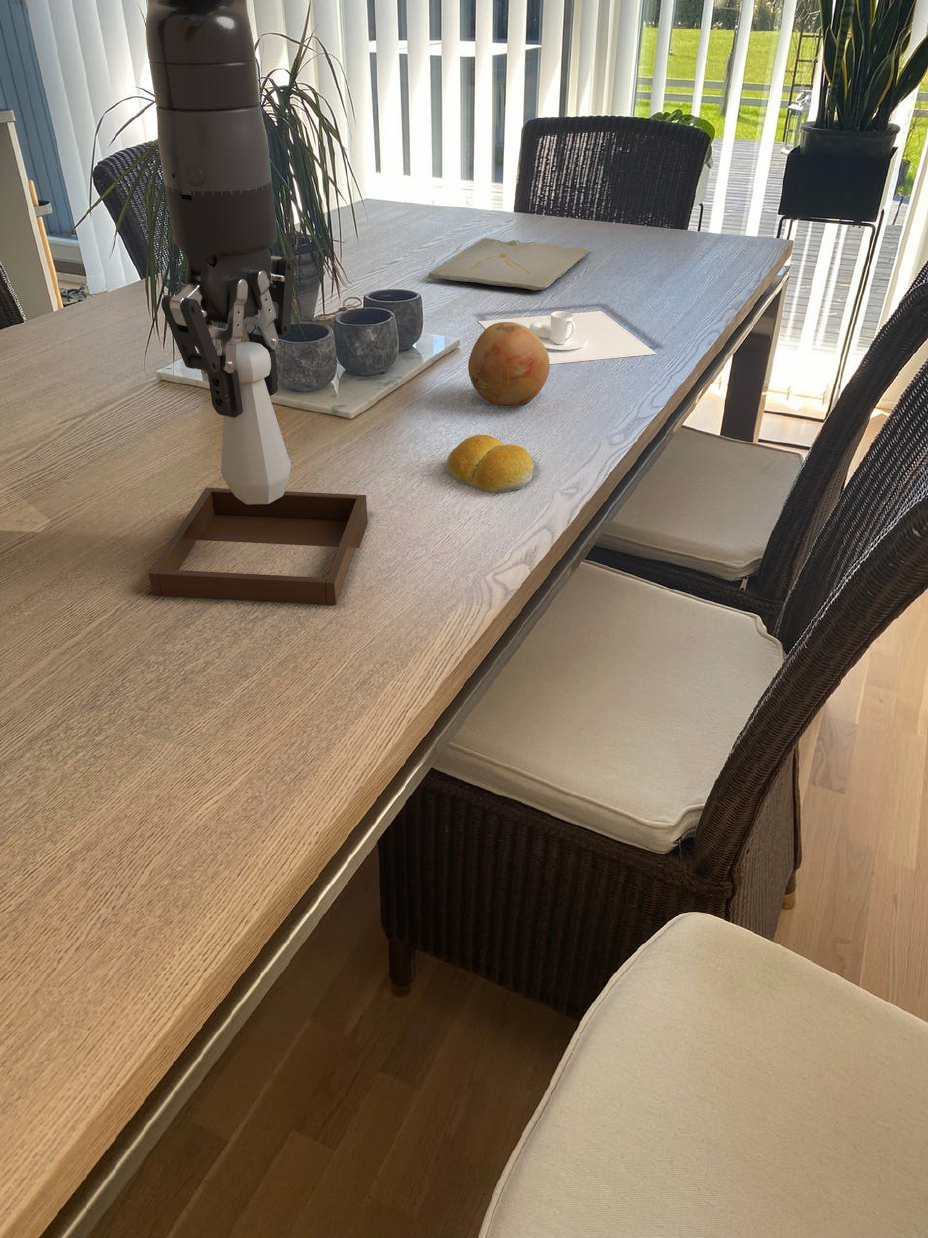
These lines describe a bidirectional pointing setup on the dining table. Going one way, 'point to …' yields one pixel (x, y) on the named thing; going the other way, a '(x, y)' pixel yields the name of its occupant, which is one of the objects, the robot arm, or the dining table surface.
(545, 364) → the onion
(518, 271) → the decorative slab
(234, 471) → the salt shaker
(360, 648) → the dining table surface
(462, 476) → the bread roll
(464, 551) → the dining table surface
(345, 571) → the tray
